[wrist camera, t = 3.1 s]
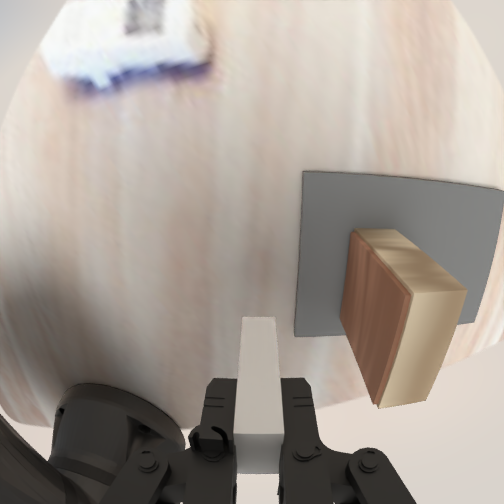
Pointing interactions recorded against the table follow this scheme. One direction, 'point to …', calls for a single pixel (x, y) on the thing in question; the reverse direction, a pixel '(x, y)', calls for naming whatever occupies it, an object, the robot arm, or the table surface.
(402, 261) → the brown wooden block
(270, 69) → the table surface
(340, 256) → the mat
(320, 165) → the table surface
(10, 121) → the table surface
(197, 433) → the robot arm
